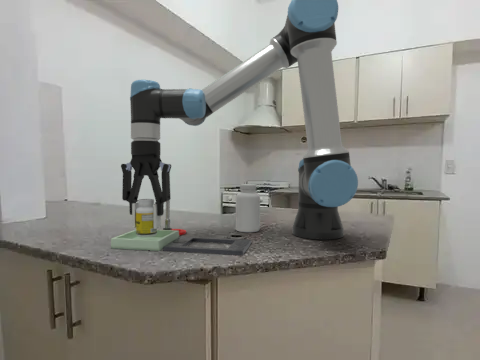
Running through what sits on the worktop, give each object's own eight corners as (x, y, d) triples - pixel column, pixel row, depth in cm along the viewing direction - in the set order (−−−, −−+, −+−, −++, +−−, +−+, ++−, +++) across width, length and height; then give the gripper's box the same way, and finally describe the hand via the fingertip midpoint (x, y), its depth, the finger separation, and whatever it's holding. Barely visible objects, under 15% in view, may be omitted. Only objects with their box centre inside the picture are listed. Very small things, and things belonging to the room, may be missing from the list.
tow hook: (164, 231, 104) (152, 236, 95) (165, 192, 104) (153, 193, 95) (189, 232, 103) (179, 238, 94) (190, 192, 103) (180, 193, 94)
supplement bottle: (136, 234, 88) (135, 198, 88) (156, 233, 90) (156, 198, 89) (136, 238, 83) (135, 200, 82) (157, 237, 84) (157, 200, 84)
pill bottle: (258, 233, 100) (259, 185, 99) (233, 232, 101) (233, 185, 100) (261, 228, 107) (261, 183, 107) (237, 227, 109) (237, 183, 108)
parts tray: (179, 239, 91) (179, 230, 91) (158, 251, 79) (158, 241, 79) (137, 237, 94) (137, 228, 94) (111, 248, 81) (110, 238, 81)
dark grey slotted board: (251, 243, 87) (251, 239, 87) (242, 255, 75) (242, 250, 75) (181, 239, 91) (181, 236, 91) (163, 250, 79) (163, 246, 79)
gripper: (183, 141, 87) (184, 226, 88) (122, 142, 91) (123, 223, 92) (172, 139, 80) (173, 231, 81) (106, 140, 83) (107, 228, 84)
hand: (146, 227), depth 86 cm, fingers closed on supplement bottle, 5 cm apart
